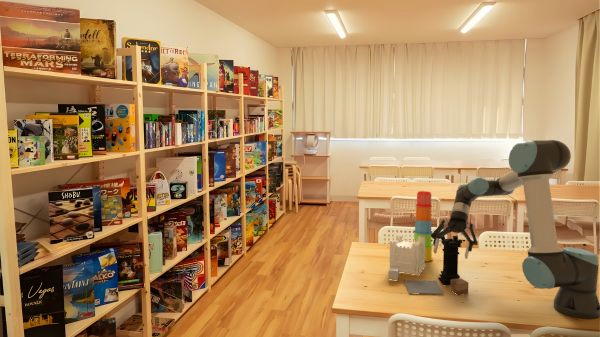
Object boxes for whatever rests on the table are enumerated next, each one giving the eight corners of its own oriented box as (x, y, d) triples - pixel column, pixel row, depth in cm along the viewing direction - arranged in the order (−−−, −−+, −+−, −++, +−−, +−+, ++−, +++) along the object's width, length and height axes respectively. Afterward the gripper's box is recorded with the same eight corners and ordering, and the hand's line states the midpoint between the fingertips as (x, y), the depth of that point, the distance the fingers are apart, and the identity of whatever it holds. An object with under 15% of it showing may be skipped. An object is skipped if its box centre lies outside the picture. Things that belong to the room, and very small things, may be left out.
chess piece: (462, 285, 191) (463, 240, 189) (443, 285, 192) (444, 240, 189) (456, 278, 199) (457, 235, 197) (438, 278, 200) (439, 235, 197)
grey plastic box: (397, 282, 197) (397, 271, 196) (388, 281, 198) (388, 270, 198) (399, 277, 202) (399, 266, 202) (390, 276, 204) (390, 265, 203)
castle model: (388, 271, 210) (388, 240, 208) (396, 262, 222) (397, 233, 220) (418, 276, 203) (419, 244, 201) (425, 266, 215) (426, 236, 214)
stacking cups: (407, 257, 229) (408, 191, 225) (423, 254, 233) (424, 189, 229) (421, 263, 220) (422, 194, 215) (437, 260, 224) (438, 193, 220)
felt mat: (443, 294, 182) (443, 293, 182) (409, 294, 183) (409, 292, 183) (436, 281, 196) (436, 280, 196) (403, 281, 197) (403, 280, 197)
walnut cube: (468, 294, 183) (468, 282, 182) (457, 295, 181) (457, 283, 181) (460, 289, 188) (461, 278, 187) (450, 290, 186) (450, 279, 186)
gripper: (489, 222, 201) (480, 263, 191) (434, 215, 215) (424, 254, 205) (487, 213, 196) (478, 255, 186) (431, 207, 210) (420, 246, 200)
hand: (450, 254), depth 195 cm, fingers open, 13 cm apart
